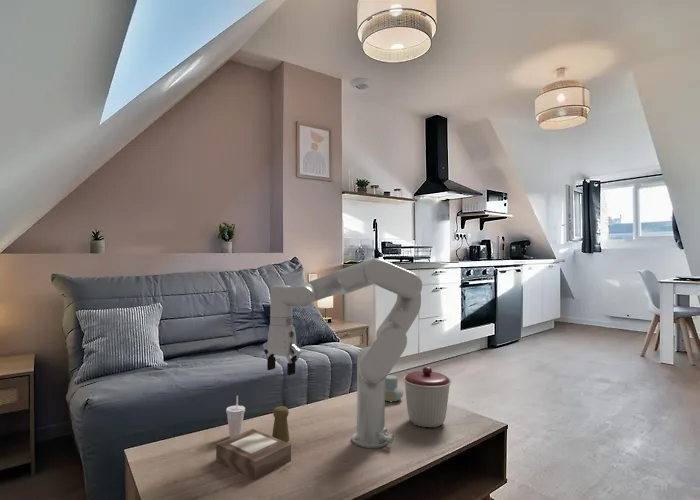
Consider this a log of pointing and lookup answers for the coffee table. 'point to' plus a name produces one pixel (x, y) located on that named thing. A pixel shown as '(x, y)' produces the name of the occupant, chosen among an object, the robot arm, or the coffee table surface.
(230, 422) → the smoothie
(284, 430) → the cork
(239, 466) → the pedestal
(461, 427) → the coffee table surface
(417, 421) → the canister
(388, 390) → the air freshener
